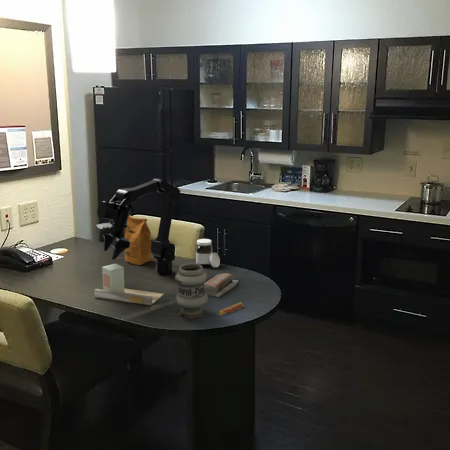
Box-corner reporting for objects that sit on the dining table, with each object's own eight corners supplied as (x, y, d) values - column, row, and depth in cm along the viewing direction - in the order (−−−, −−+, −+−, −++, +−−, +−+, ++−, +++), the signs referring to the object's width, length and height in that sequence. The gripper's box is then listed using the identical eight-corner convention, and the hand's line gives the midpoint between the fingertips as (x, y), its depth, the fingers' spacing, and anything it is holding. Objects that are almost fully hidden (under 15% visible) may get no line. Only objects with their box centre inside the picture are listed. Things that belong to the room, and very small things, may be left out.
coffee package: (136, 256, 261) (135, 213, 255) (154, 261, 253) (153, 217, 248) (121, 261, 253) (119, 216, 247) (139, 266, 246) (137, 220, 240)
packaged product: (219, 287, 209) (197, 283, 213) (219, 298, 210) (197, 294, 215) (238, 273, 225) (217, 269, 229) (238, 284, 226) (217, 280, 230)
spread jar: (197, 260, 254) (196, 237, 252) (220, 261, 254) (220, 238, 251) (194, 269, 243) (194, 244, 240) (219, 269, 243) (219, 245, 240)
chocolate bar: (243, 308, 201) (243, 302, 201) (221, 317, 193) (221, 311, 192) (238, 306, 203) (238, 300, 202) (216, 315, 195) (216, 309, 194)
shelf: (110, 289, 217) (110, 279, 216) (164, 297, 210) (163, 286, 209) (94, 300, 206) (94, 290, 205) (150, 309, 199) (150, 297, 197)
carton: (116, 289, 214) (115, 263, 211) (124, 293, 210) (123, 267, 207) (103, 293, 210) (101, 266, 207) (111, 297, 205) (109, 270, 203)
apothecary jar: (168, 314, 194) (167, 268, 189) (187, 303, 204) (187, 259, 199) (195, 322, 188) (195, 274, 183) (214, 310, 198) (214, 265, 193)
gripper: (93, 209, 217) (83, 244, 220) (110, 224, 203) (98, 261, 205) (118, 213, 224) (107, 247, 227) (135, 229, 209) (124, 265, 212)
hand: (109, 255), depth 218 cm, fingers open, 9 cm apart
